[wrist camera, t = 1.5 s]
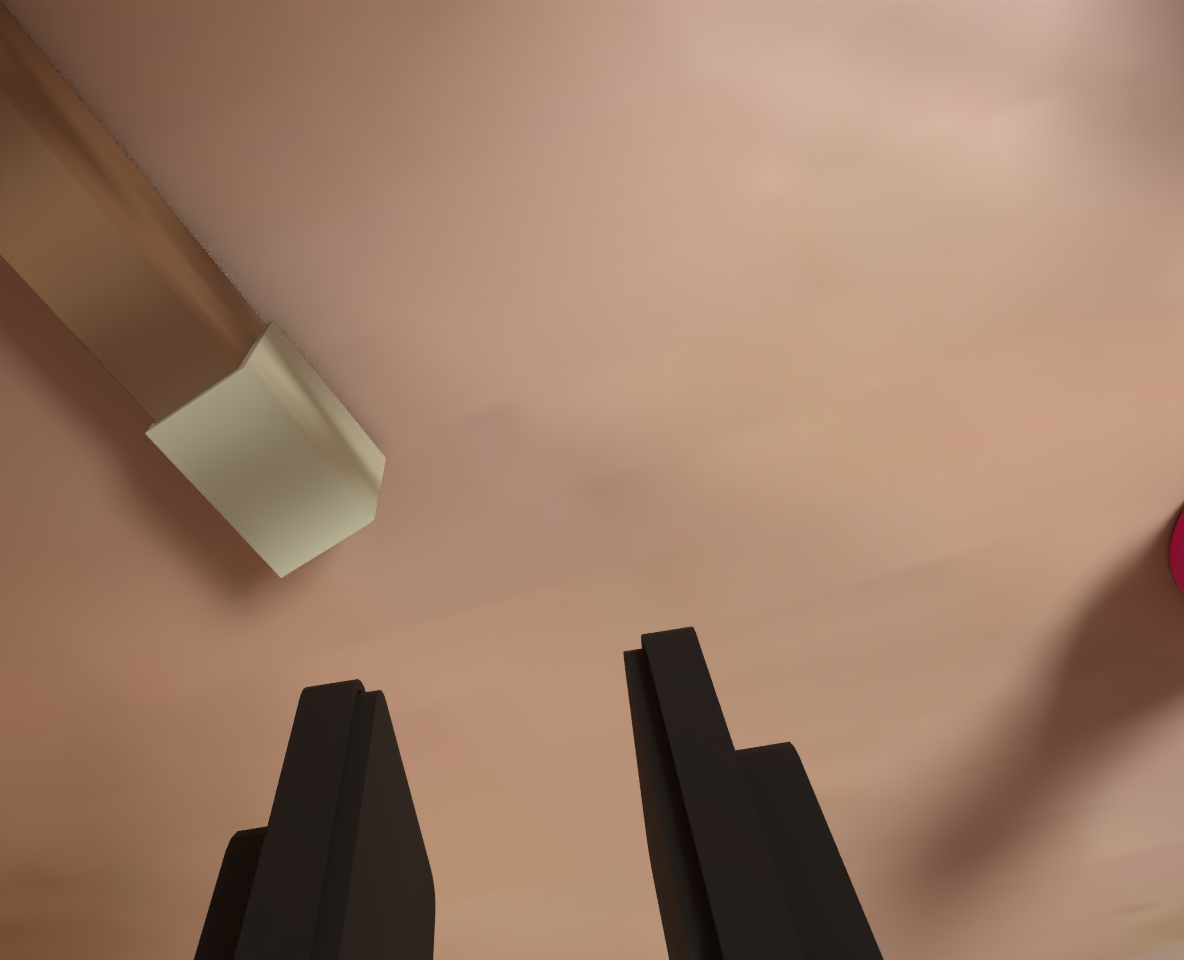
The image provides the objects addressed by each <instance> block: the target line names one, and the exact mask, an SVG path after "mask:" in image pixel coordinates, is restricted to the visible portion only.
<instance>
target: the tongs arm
mask: <svg viewBox="0 0 1184 960" xmlns="http://www.w3.org/2000/svg"><path fill="white" fill-rule="evenodd" d="M0 255H1V256H2V257H3V258H4V259H5V260H6V261H7V262H8V264H9V265H10V266H11V267H12V268H13V269H14V270H15V271H16V272H17V273H18V274H19V275H20V276H21V278H22V279H23V280H24V281H25V282H26V283H27V284H28V285H29V286H30V287H31V288H32V289H33V290H34V292H35V293H36V294H37V295H38V296H39V297H40V298H41V299H42V300H43V301H44V302H45V303H46V304H47V306H48V307H49V308H50V309H51V310H52V311H53V312H54V313H55V314H56V315H57V316H58V317H59V318H60V320H61V321H62V322H63V323H64V324H65V325H66V326H67V327H68V328H69V329H70V330H71V331H72V332H73V334H74V335H75V336H76V337H77V338H78V339H79V340H80V341H81V342H82V343H83V344H84V345H85V347H86V348H87V349H88V350H89V351H90V352H91V353H92V354H93V355H94V356H95V357H96V358H97V359H98V361H99V362H100V363H101V364H102V365H103V366H104V367H105V368H106V369H107V370H108V371H109V372H110V373H111V375H112V376H113V377H114V378H115V379H116V380H117V381H118V382H119V383H120V384H121V385H122V386H123V387H124V389H125V390H126V391H127V392H128V393H129V394H130V395H131V396H132V397H133V398H134V399H135V400H136V401H137V403H138V404H139V405H140V406H141V407H142V408H143V409H144V410H145V411H146V412H147V413H148V414H149V416H150V417H151V418H152V419H153V420H154V422H153V423H152V425H151V426H150V427H149V429H148V430H147V431H146V433H145V434H146V435H147V436H148V437H149V438H150V439H151V440H152V441H153V443H154V444H155V445H156V446H157V447H158V448H159V449H160V450H161V451H162V452H163V453H164V454H165V455H166V456H167V457H168V458H169V460H170V461H171V462H172V463H173V464H174V465H175V466H176V467H177V468H178V469H179V470H180V471H181V472H182V473H183V474H184V476H185V477H186V478H187V479H188V480H189V481H190V482H191V483H192V484H193V485H194V486H195V487H196V488H197V489H198V490H199V491H200V493H201V494H202V495H203V496H204V497H205V498H206V499H207V500H208V501H209V502H210V503H211V504H212V505H213V506H214V507H215V509H216V510H217V511H218V512H219V513H220V514H221V515H222V516H223V517H224V518H225V519H226V520H227V521H228V522H229V523H230V524H231V526H232V527H233V528H234V529H235V530H236V531H237V532H238V533H239V534H240V535H241V536H242V537H243V538H244V539H245V540H246V542H247V543H248V544H249V545H250V546H251V547H252V548H253V549H254V550H255V551H256V552H257V553H258V554H259V555H260V556H261V557H262V559H263V560H264V561H265V562H266V563H267V564H268V565H269V566H270V567H271V568H272V569H273V570H274V571H275V572H276V573H277V575H278V576H279V577H280V578H282V577H284V576H285V575H287V574H289V573H290V572H292V571H293V570H295V569H297V568H298V567H300V566H301V565H303V564H305V563H306V562H308V561H310V560H311V559H313V558H314V557H316V556H318V555H319V554H321V553H322V552H324V551H326V550H327V549H329V548H331V547H332V546H334V545H335V544H337V543H339V542H340V541H342V540H343V539H345V538H347V537H348V536H350V535H352V534H353V533H355V532H356V531H358V530H360V529H361V528H363V527H364V526H366V525H368V524H369V523H371V522H373V521H374V518H375V513H376V508H377V503H378V498H379V492H380V487H381V482H382V477H383V472H384V467H385V462H386V457H385V456H384V455H383V454H382V453H381V451H380V450H379V449H378V448H377V446H376V445H375V444H374V443H373V442H372V440H371V439H370V438H369V437H368V435H367V434H366V433H365V432H364V431H363V429H362V428H361V427H360V426H359V424H358V423H357V422H356V421H355V419H354V418H353V417H352V416H351V415H350V413H349V412H348V411H347V410H346V408H345V407H344V406H343V405H342V404H341V402H340V401H339V400H338V399H337V397H336V396H335V395H334V394H333V393H332V391H331V390H330V389H329V388H328V386H327V385H326V384H325V383H324V381H323V380H322V379H321V378H320V377H319V375H318V374H317V373H316V372H315V370H314V369H313V368H312V367H311V366H310V364H309V363H308V362H307V361H306V359H305V358H304V357H303V356H302V355H301V353H300V352H299V351H298V350H297V348H296V347H295V346H294V345H293V344H292V342H291V341H290V340H289V339H288V337H287V336H286V335H285V334H284V332H283V331H282V330H281V329H280V328H279V326H278V325H277V324H276V323H275V321H274V320H272V321H271V322H269V323H268V324H265V323H264V322H263V321H262V320H261V318H260V317H259V316H258V315H257V313H256V312H255V311H254V310H253V309H252V307H251V306H250V305H249V304H248V302H247V301H246V300H245V299H244V298H243V296H242V295H241V294H240V293H239V292H238V290H237V289H236V288H235V287H234V285H233V284H232V283H231V282H230V281H229V279H228V278H227V277H226V276H225V274H224V273H223V272H222V271H221V270H220V268H219V267H218V266H217V265H216V264H215V262H214V261H213V260H212V259H211V257H210V256H209V255H208V254H207V253H206V251H205V250H204V249H203V248H202V247H201V245H200V244H199V243H198V242H197V240H196V239H195V238H194V237H193V236H192V234H191V233H190V232H189V231H188V229H187V228H186V227H185V226H184V225H183V223H182V222H181V221H180V220H179V219H178V217H177V216H176V215H175V214H174V212H173V211H172V210H171V209H170V208H169V206H168V205H167V204H166V203H165V201H164V200H163V199H162V198H161V197H160V195H159V194H158V193H157V192H156V191H155V189H154V188H153V187H152V186H151V184H150V183H149V182H148V181H147V180H146V178H145V177H144V176H143V175H142V174H141V172H140V171H139V170H138V169H137V167H136V166H135V165H134V164H133V163H132V161H131V160H130V159H129V158H128V156H127V155H126V154H125V153H124V152H123V150H122V149H121V148H120V147H119V146H118V144H117V143H116V142H115V141H114V139H113V138H112V137H111V136H110V135H109V133H108V132H107V131H106V130H105V128H104V127H103V126H102V125H101V124H100V122H99V121H98V120H97V119H96V118H95V116H94V115H93V114H92V113H91V111H90V110H89V109H88V108H87V107H86V105H85V104H84V103H83V102H82V101H81V99H80V98H79V97H78V96H77V94H76V93H75V92H74V91H73V90H72V88H71V87H70V86H69V85H68V83H67V82H66V81H65V80H64V79H63V77H62V76H61V75H60V74H59V73H58V71H57V70H56V69H55V68H54V66H53V65H52V64H51V63H50V62H49V60H48V59H47V58H46V57H45V56H44V54H43V53H42V52H41V51H40V49H39V48H38V47H37V46H36V45H35V43H34V42H33V41H32V40H31V38H30V37H29V36H28V35H27V34H26V32H25V31H24V30H23V29H22V28H21V26H20V25H19V24H18V23H17V21H16V20H15V19H14V18H13V17H12V15H11V14H10V13H9V12H8V10H7V9H6V8H5V7H4V6H3V4H2V3H1V2H0Z"/></svg>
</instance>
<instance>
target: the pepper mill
mask: <svg viewBox="0 0 1184 960" xmlns="http://www.w3.org/2000/svg"><path fill="white" fill-rule="evenodd" d="M1170 566H1171V570H1172V573H1173V575H1174V578H1175V581H1176V583H1177V585H1178V586H1179V588H1180V589H1181V590H1182V591H1183V592H1184V511H1183V513H1182V514H1181V516H1180V518H1179V519H1178V521H1177V523H1176V526H1175V530H1174V533H1173V536H1172V539H1171V542H1170Z"/></svg>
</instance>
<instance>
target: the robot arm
mask: <svg viewBox="0 0 1184 960" xmlns="http://www.w3.org/2000/svg"><path fill="white" fill-rule="evenodd" d="M641 643H642V649H637V650H631V651H624V663H625V671H626V679H627V687H628V695H629V702H630V710H631V718H632V726H633V734H634V742H635V750H636V758H637V766H638V773H639V781H640V789H641V797H642V805H643V813H644V821H645V829H646V836H647V844H648V850H649V856H650V862H651V868H652V873H653V879H654V884H655V889H656V894H657V899H658V904H659V909H660V915H661V920H662V925H663V930H664V935H665V940H666V945H667V950H668V956H669V960H883V957H882V955H881V952H880V950H879V948H878V945H877V943H876V940H875V938H874V936H873V933H872V931H871V928H870V926H869V923H868V921H867V919H866V916H865V914H864V911H863V909H862V907H861V904H860V902H859V899H858V897H857V895H856V892H855V890H854V887H853V885H852V882H851V880H850V878H849V875H848V873H847V870H846V868H845V866H844V863H843V861H842V858H841V856H840V854H839V851H838V849H837V846H836V844H835V842H834V839H833V837H832V834H831V832H830V829H829V827H828V825H827V822H826V820H825V817H824V815H823V813H822V810H821V808H820V805H819V803H818V801H817V798H816V796H815V793H814V791H813V788H812V786H811V784H810V781H809V779H808V776H807V774H806V772H805V769H804V767H803V764H802V762H801V760H800V757H799V755H798V753H797V751H796V749H795V747H794V746H793V745H792V744H791V743H790V742H785V743H779V744H773V745H766V746H760V747H754V748H748V749H742V750H736V751H735V749H734V746H733V743H732V740H731V737H730V734H729V731H728V728H727V725H726V722H725V719H724V716H723V713H722V710H721V707H720V704H719V701H718V698H717V695H716V692H715V689H714V686H713V683H712V680H711V677H710V674H709V671H708V668H707V665H706V662H705V659H704V656H703V653H702V650H701V647H700V644H699V641H698V638H697V635H696V632H695V630H694V628H693V627H686V628H680V629H674V630H667V631H661V632H655V633H648V634H642V635H641ZM434 928H435V891H434V883H433V876H432V872H431V868H430V864H429V860H428V857H427V853H426V849H425V845H424V842H423V838H422V834H421V830H420V827H419V823H418V819H417V815H416V812H415V808H414V804H413V800H412V797H411V793H410V789H409V785H408V782H407V778H406V774H405V770H404V767H403V763H402V759H401V755H400V752H399V748H398V744H397V740H396V737H395V733H394V729H393V725H392V722H391V718H390V714H389V710H388V707H387V703H386V700H385V696H384V694H383V692H382V691H381V690H377V691H371V692H366V691H365V688H364V686H363V684H362V682H361V681H360V680H358V679H356V680H349V681H343V682H337V683H330V684H324V685H317V686H311V687H306V688H304V689H303V690H302V693H301V696H300V699H299V703H298V707H297V711H296V715H295V719H294V723H293V727H292V731H291V735H290V739H289V743H288V747H287V751H286V755H285V759H284V763H283V767H282V770H281V774H280V778H279V782H278V786H277V790H276V794H275V798H274V802H273V806H272V810H271V814H270V818H269V822H268V826H267V827H261V828H255V829H249V830H242V831H237V832H236V834H235V835H234V836H233V837H232V838H231V840H230V842H229V844H228V847H227V849H226V852H225V855H224V858H223V862H222V865H221V869H220V872H219V876H218V879H217V882H216V886H215V889H214V893H213V896H212V899H211V903H210V906H209V910H208V913H207V917H206V920H205V923H204V927H203V930H202V934H201V937H200V940H199V944H198V947H197V951H196V954H195V957H194V960H433V950H434Z"/></svg>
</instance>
